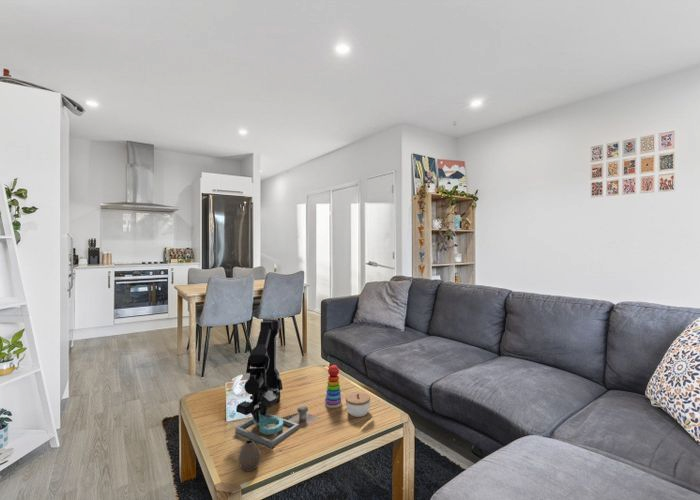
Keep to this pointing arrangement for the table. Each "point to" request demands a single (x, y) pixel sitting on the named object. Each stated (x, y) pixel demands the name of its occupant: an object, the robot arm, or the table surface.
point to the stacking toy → (333, 388)
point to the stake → (303, 417)
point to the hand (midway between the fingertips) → (259, 421)
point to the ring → (272, 420)
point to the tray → (262, 440)
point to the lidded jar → (358, 403)
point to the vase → (249, 456)
